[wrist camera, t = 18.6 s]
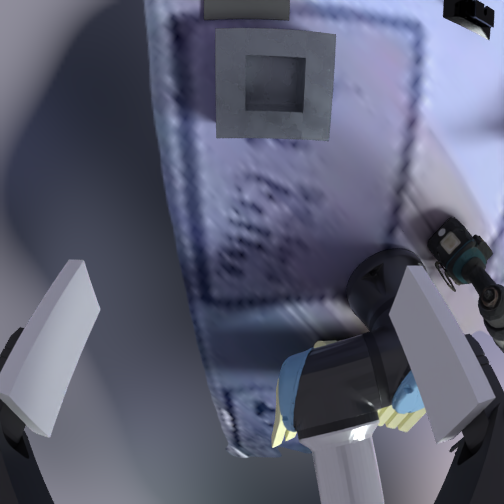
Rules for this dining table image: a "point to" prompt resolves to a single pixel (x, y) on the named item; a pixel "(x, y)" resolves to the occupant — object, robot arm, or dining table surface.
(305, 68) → the block
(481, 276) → the power drill
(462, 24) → the black notched block
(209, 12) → the rubber mat
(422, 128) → the dining table surface
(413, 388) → the robot arm
